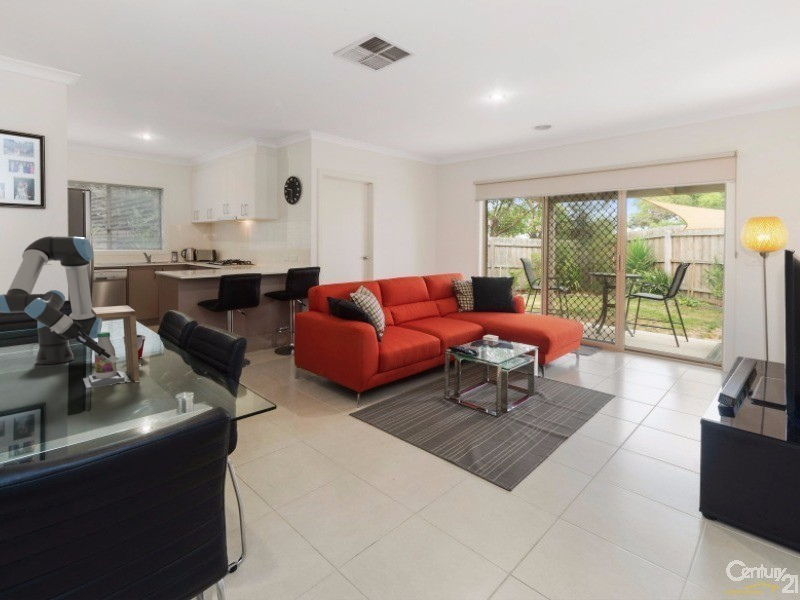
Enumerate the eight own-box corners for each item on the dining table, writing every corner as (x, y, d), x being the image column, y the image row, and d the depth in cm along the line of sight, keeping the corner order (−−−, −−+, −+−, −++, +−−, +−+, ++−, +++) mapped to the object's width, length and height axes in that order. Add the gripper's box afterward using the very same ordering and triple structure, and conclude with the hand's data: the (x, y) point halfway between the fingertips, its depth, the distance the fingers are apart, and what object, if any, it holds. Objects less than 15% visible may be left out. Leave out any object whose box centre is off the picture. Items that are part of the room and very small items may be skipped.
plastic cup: (136, 361, 224) (135, 339, 222) (118, 360, 226) (117, 337, 224) (152, 356, 234) (151, 334, 233) (135, 355, 236) (134, 333, 235)
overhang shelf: (96, 376, 198) (91, 307, 194) (131, 371, 207) (127, 305, 203) (101, 388, 183) (96, 313, 179) (139, 381, 192) (135, 310, 188)
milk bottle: (102, 374, 196) (99, 330, 193) (120, 374, 197) (117, 331, 194) (91, 379, 188) (88, 334, 186) (110, 379, 189) (107, 334, 186)
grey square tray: (83, 379, 193) (82, 375, 193) (124, 373, 204) (124, 369, 204) (86, 389, 181) (86, 384, 181) (130, 381, 192) (130, 377, 192)
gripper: (57, 330, 187) (104, 360, 200) (60, 338, 172) (111, 371, 185) (72, 317, 190) (117, 348, 203) (76, 324, 175) (125, 357, 188)
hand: (114, 358), depth 194 cm, fingers closed on milk bottle, 7 cm apart
